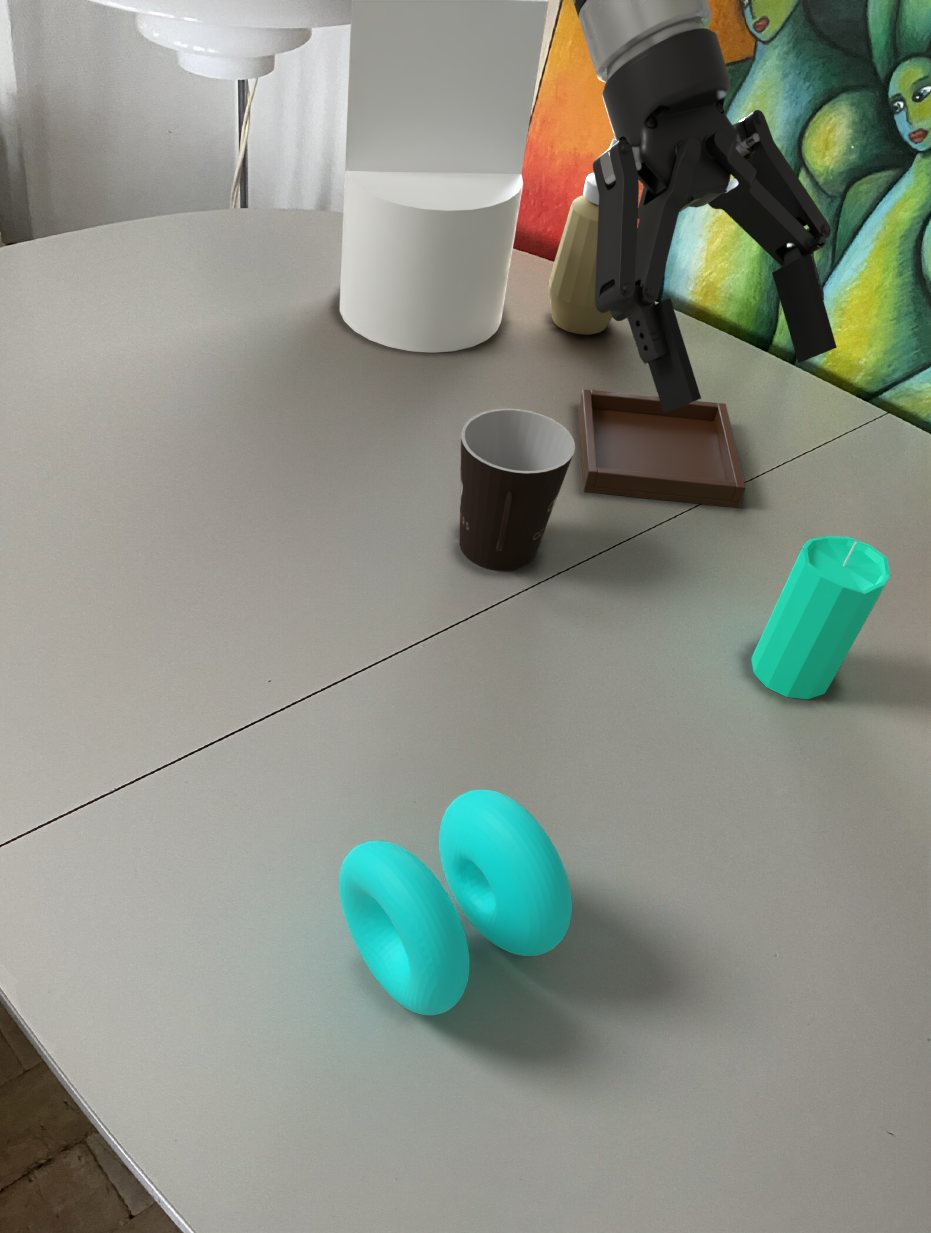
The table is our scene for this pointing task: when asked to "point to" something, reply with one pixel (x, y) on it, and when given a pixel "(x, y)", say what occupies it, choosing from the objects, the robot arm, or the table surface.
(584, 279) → the squeeze bottle
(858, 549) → the candle
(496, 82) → the cylinder
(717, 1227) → the table surface
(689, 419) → the walnut tray
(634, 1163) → the table surface
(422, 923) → the donuts
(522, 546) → the coffee mug
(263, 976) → the table surface
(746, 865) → the table surface
